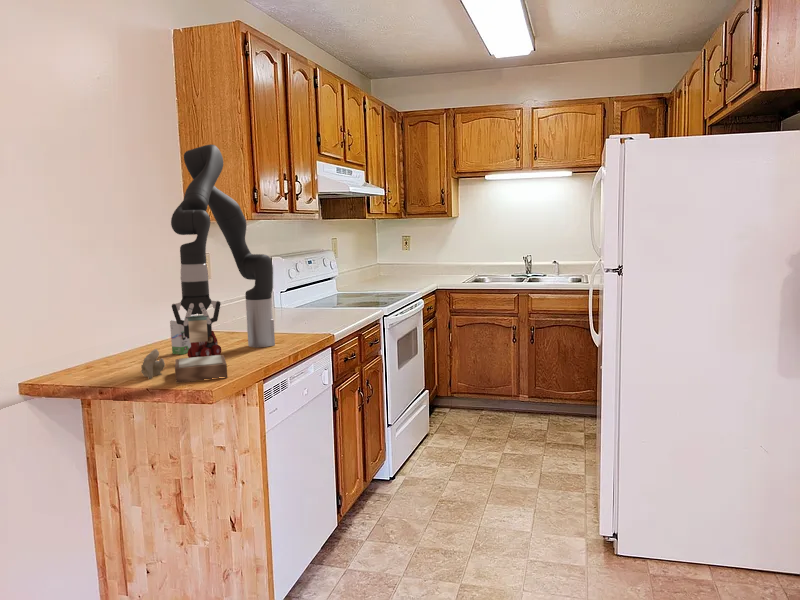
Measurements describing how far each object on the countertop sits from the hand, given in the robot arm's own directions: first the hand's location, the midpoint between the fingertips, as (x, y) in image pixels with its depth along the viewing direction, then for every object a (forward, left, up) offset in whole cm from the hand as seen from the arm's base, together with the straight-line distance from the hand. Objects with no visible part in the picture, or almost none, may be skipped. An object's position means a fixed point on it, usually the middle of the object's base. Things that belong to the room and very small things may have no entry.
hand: (198, 337), depth 181 cm
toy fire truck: (-2, -26, -12) cm, 29 cm away
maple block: (0, 0, -1) cm, 1 cm away
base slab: (0, 0, -11) cm, 11 cm away
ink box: (+4, -39, -12) cm, 41 cm away
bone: (+14, -5, -12) cm, 19 cm away
